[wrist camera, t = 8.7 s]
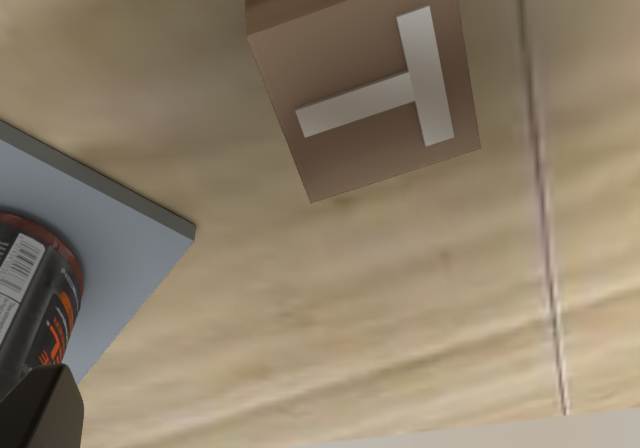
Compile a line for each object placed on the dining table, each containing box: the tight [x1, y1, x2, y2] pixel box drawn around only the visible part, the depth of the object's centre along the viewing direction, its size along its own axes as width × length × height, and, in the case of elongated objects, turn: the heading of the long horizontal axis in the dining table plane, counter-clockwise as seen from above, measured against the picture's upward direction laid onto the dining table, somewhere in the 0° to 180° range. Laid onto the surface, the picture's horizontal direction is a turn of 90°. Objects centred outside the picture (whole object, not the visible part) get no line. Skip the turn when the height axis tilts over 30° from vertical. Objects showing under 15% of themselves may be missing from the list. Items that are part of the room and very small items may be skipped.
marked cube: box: [245, 0, 481, 203], centre depth 17 cm, size 5×5×5 cm
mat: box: [0, 121, 196, 385], centre depth 21 cm, size 10×10×1 cm
